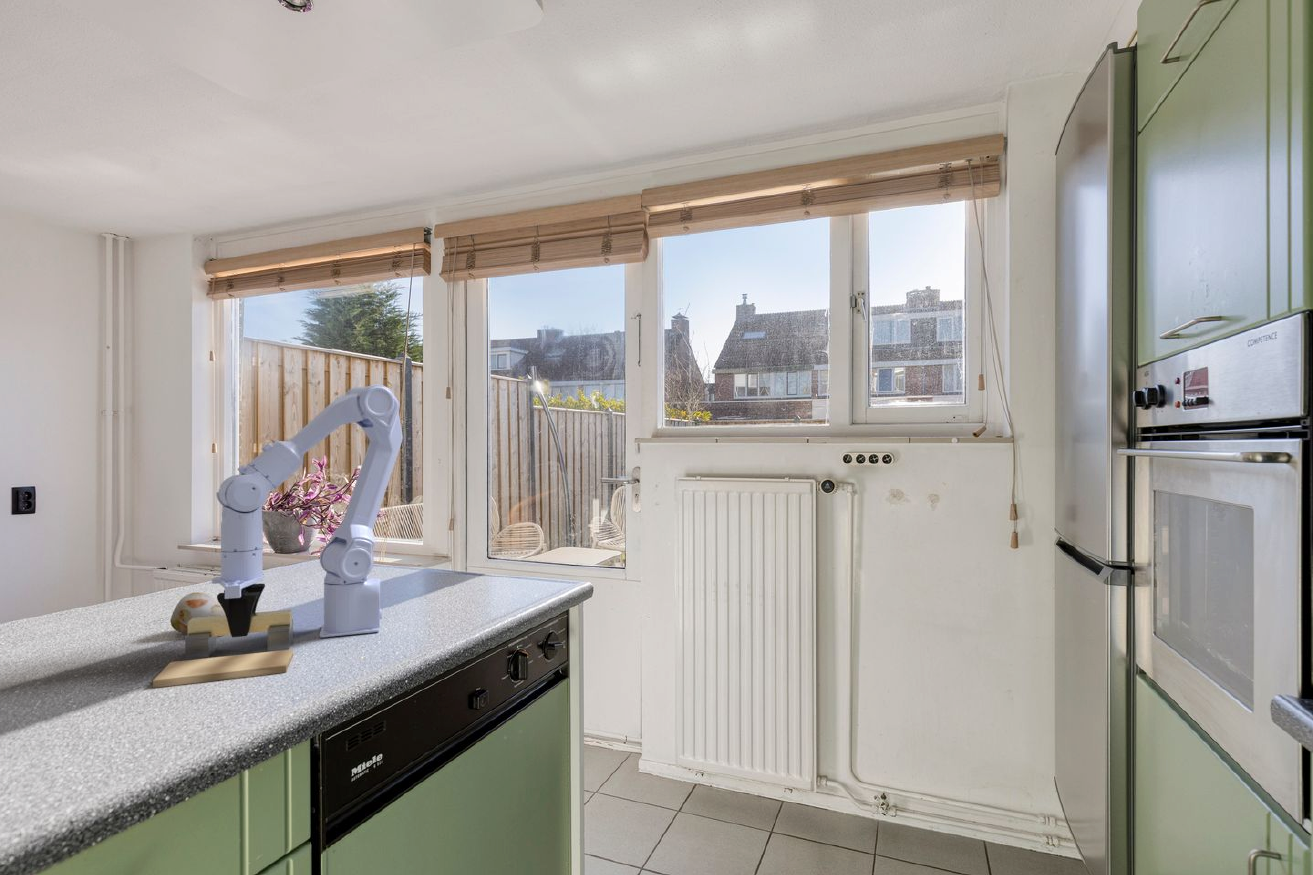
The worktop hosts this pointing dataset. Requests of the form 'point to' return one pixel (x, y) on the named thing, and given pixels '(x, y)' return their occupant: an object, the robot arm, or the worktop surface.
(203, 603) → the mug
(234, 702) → the worktop surface
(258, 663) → the board
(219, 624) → the rail
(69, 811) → the worktop surface
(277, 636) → the post
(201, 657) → the post
